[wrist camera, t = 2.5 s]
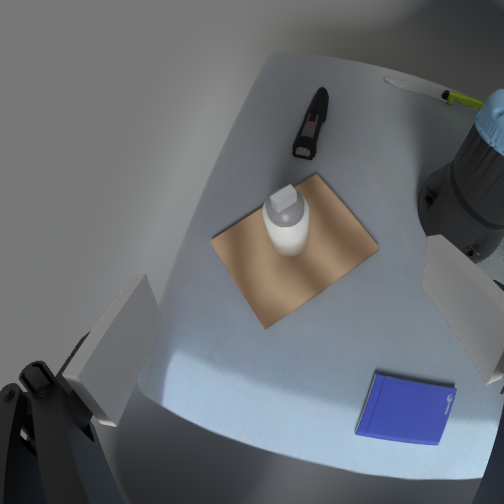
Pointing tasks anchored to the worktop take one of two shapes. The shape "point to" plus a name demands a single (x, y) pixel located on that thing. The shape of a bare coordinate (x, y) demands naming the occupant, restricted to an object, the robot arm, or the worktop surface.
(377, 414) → the hard drive
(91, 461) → the robot arm
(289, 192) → the white bottle
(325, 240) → the board
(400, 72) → the worktop surface
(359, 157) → the worktop surface
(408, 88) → the kitchen knife
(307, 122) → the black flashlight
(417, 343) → the worktop surface
